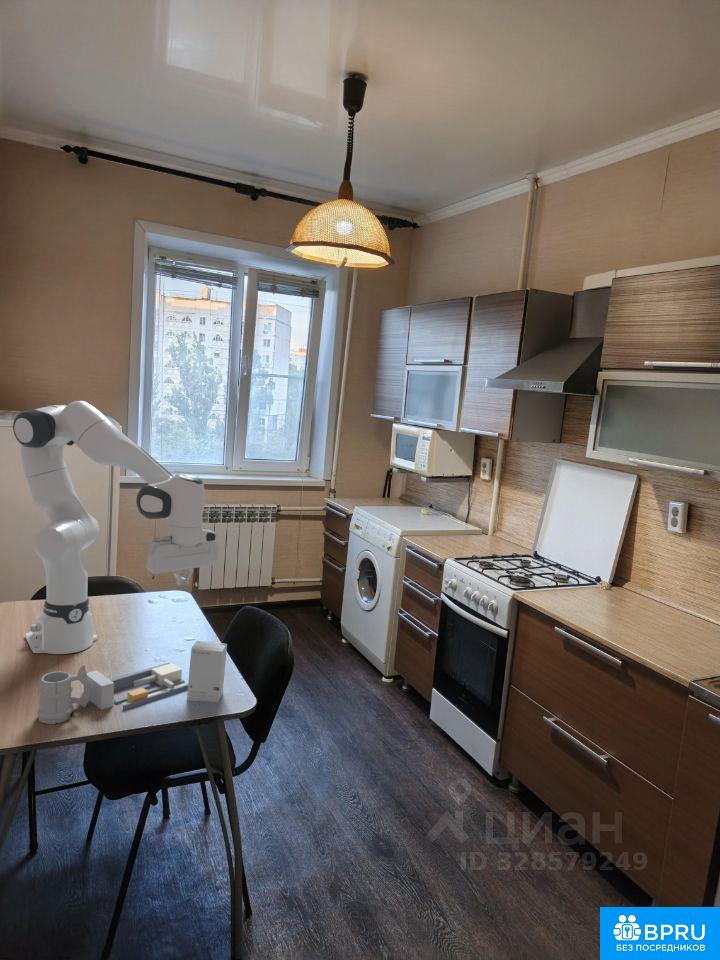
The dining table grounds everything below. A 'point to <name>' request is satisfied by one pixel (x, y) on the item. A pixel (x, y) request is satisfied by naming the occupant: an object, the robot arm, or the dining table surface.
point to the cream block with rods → (162, 676)
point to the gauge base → (105, 687)
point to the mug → (61, 695)
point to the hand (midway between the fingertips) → (182, 584)
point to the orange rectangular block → (137, 694)
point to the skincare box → (206, 671)
